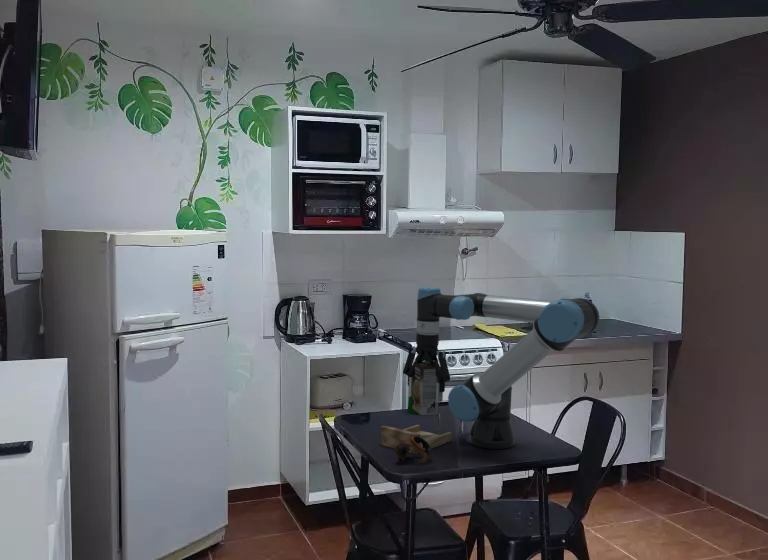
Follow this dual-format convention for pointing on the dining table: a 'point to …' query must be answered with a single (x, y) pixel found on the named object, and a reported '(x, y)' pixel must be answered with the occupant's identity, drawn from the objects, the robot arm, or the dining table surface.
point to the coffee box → (425, 389)
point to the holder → (397, 436)
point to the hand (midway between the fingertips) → (425, 398)
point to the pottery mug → (405, 447)
